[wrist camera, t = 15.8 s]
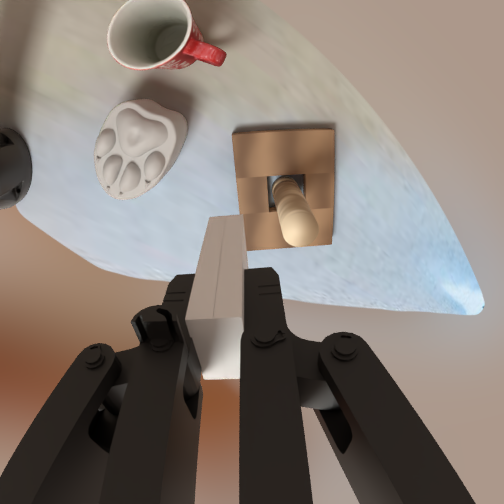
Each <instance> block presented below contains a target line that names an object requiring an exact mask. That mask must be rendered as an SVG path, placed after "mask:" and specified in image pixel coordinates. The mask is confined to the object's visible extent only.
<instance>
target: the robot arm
mask: <svg viewBox="0 0 504 504" xmlns="http://www.w3.org/2000/svg"><path fill="white" fill-rule="evenodd" d="M31 176H32V166H31V159H30V155H29V151H28V149H27V146H26V144H25V142H24V141H23V139H22V138H21V136H20V135H19V134H18V133H16V132H15V131H13V130H11V129H8V128H2V129H0V209H5V208H9V207H12V206H14V205H15V204H17V203H18V202H19V201H21V200H22V199H23V198H24V197H25V195H26V194H27V192H28V190H29V187H30V183H31ZM131 324H132V326H133V328H134V330H135V332H136V335H137V337H138V339H139V341H140V345H139V346H138V347H135V348H132V349H129V350H125V351H121V352H116V353H115V352H114V351H113V349H112V348H111V346H109V345H107V344H102V343H98V344H93V345H90V346H89V347H87V348H85V349H84V350H83V351H82V352H81V353H80V354H79V355H78V356H77V358H76V359H75V361H74V362H73V363H72V365H71V366H70V368H69V369H68V370H67V372H66V373H65V375H64V376H63V377H62V379H61V380H60V382H59V383H58V385H57V386H56V387H55V389H54V390H53V392H52V393H51V395H50V396H49V398H48V399H47V401H46V402H45V404H44V405H43V407H42V408H41V410H40V411H39V413H38V414H37V416H36V418H35V419H34V421H33V422H32V424H31V426H30V427H29V429H28V430H27V432H26V434H25V435H24V437H23V438H22V440H21V442H20V443H19V445H18V447H17V448H16V450H15V452H14V453H13V455H12V457H11V459H10V460H9V462H8V464H7V466H6V468H5V469H4V471H3V473H2V475H1V477H0V504H194V502H195V485H196V471H197V470H196V469H197V456H198V444H199V432H200V419H201V409H202V399H203V391H202V386H201V384H200V378H201V371H202V374H203V377H204V379H238V378H240V431H239V432H240V433H239V441H240V442H239V446H240V447H239V450H240V451H239V455H240V456H239V504H313V501H312V492H311V483H310V474H309V466H308V458H307V450H306V443H305V435H304V427H303V420H302V412H301V406H302V407H308V408H313V410H314V412H315V414H316V416H317V418H318V420H319V422H320V424H321V426H322V428H323V430H324V432H325V434H326V436H327V438H328V440H329V442H330V445H331V447H332V449H333V451H334V453H335V455H336V457H337V459H338V461H339V463H340V465H341V467H342V469H343V471H344V473H345V475H346V477H347V479H348V481H349V483H350V485H351V487H352V489H353V491H354V493H355V495H356V497H357V499H358V501H359V503H360V504H475V502H474V500H473V499H472V497H471V495H470V494H469V492H468V491H467V489H466V487H465V486H464V484H463V482H462V481H461V479H460V478H459V476H458V475H457V473H456V472H455V470H454V469H453V467H452V465H451V464H450V462H449V461H448V459H447V457H446V456H445V455H444V453H443V451H442V450H441V448H440V447H439V445H438V444H437V442H436V441H435V439H434V438H433V436H432V435H431V433H430V432H429V430H428V429H427V427H426V426H425V424H424V423H423V422H422V420H421V419H420V417H419V416H418V414H417V413H416V411H415V410H414V408H413V407H412V405H411V404H410V403H409V401H408V400H407V398H406V397H405V395H404V394H403V393H402V391H401V390H400V388H399V387H398V385H397V384H396V383H395V381H394V380H393V378H392V377H391V376H390V374H389V373H388V371H387V370H386V369H385V367H384V366H383V364H382V363H381V362H380V360H379V359H378V358H377V356H376V355H375V354H374V352H373V351H372V350H371V348H370V347H369V345H368V344H367V343H366V342H365V341H364V340H363V339H362V338H361V337H360V336H358V335H355V334H353V333H348V332H338V333H333V334H331V335H329V336H327V337H326V338H325V339H324V340H323V341H322V342H315V341H308V340H305V339H301V338H299V337H297V336H295V335H294V334H293V333H292V332H291V331H290V330H289V329H288V327H287V324H286V319H285V312H284V306H283V300H282V294H281V287H280V281H279V275H278V274H277V273H276V272H275V270H274V269H273V268H272V267H267V268H254V269H248V259H247V249H246V239H245V229H244V219H243V214H241V215H229V216H218V217H210V218H209V221H208V225H207V229H206V233H205V237H204V241H203V245H202V249H201V253H200V257H199V261H198V265H197V269H196V274H183V275H176V276H175V277H174V279H173V280H172V281H171V282H170V283H169V285H168V288H167V291H166V295H165V297H164V300H163V303H162V305H156V306H151V307H147V308H145V309H143V310H141V311H140V312H139V313H137V314H136V315H135V316H134V317H133V319H132V320H131Z"/></svg>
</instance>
